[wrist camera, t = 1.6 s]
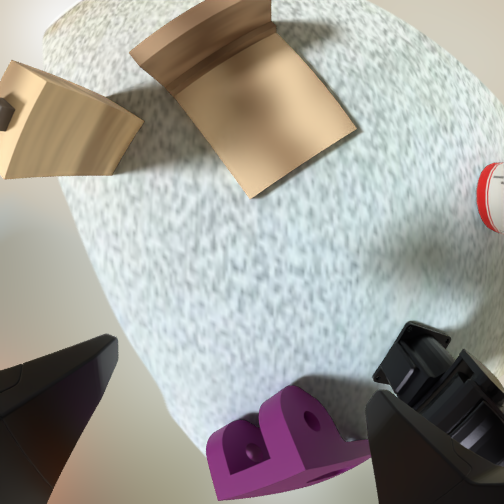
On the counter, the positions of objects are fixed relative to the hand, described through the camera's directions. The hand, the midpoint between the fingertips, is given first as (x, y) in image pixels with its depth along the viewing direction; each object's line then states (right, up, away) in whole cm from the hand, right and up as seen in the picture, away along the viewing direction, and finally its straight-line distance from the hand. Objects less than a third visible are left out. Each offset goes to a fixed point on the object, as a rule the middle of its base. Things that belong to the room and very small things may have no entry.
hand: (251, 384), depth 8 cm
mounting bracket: (+6, -16, +17) cm, 24 cm away
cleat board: (0, +15, +9) cm, 18 cm away
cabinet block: (-12, +14, +10) cm, 21 cm away
